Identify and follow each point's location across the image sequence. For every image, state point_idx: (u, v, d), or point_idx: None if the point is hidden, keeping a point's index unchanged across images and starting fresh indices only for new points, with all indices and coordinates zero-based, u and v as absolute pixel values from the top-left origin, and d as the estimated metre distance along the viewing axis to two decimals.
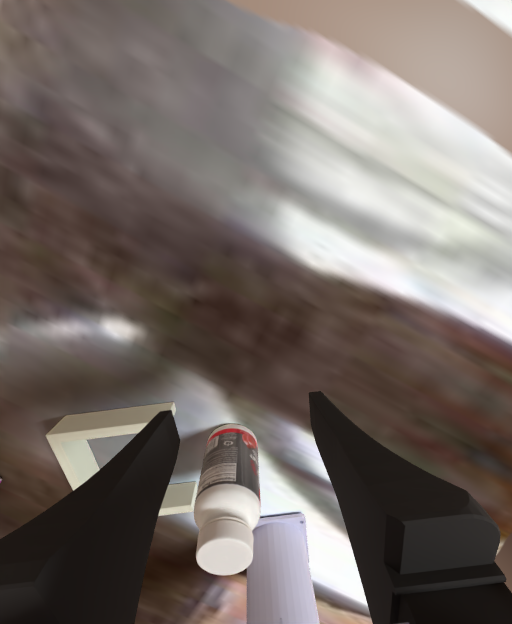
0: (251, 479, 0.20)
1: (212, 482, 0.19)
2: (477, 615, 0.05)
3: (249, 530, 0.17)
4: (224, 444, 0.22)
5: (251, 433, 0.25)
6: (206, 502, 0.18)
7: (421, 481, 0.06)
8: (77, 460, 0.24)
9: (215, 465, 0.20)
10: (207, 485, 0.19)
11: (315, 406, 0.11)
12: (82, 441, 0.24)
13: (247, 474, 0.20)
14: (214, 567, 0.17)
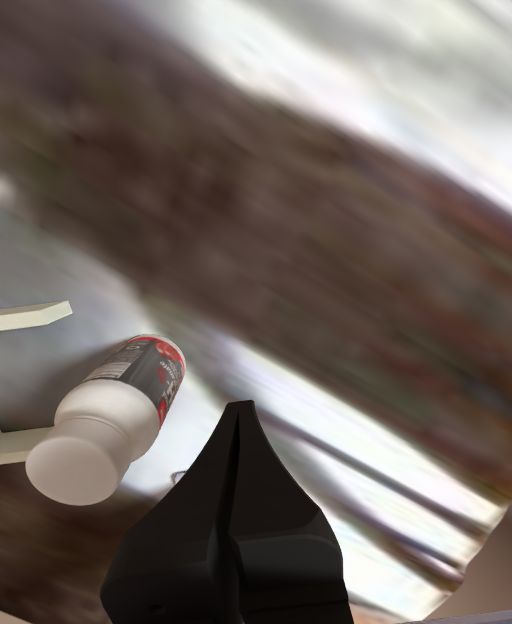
0: (149, 383, 0.14)
1: (85, 380, 0.13)
2: None
3: (120, 436, 0.11)
4: (126, 348, 0.16)
5: (175, 346, 0.19)
6: (65, 401, 0.12)
7: (286, 497, 0.06)
8: None
9: (101, 366, 0.14)
10: (78, 384, 0.13)
11: (239, 415, 0.11)
12: None
13: (144, 376, 0.14)
14: (59, 490, 0.11)
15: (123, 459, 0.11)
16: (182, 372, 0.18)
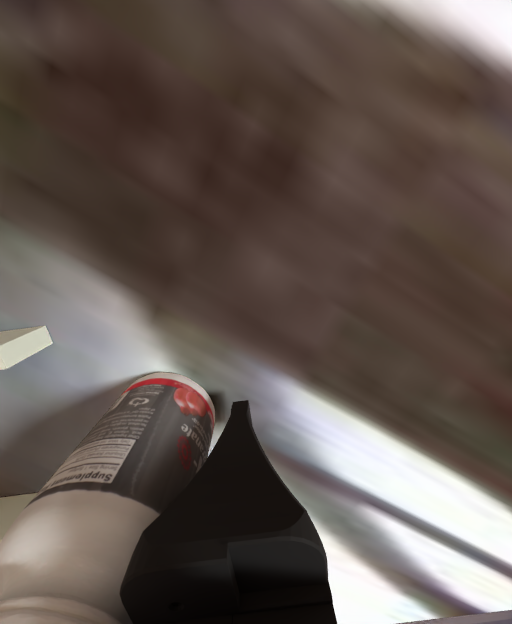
0: (166, 479, 0.08)
1: (52, 485, 0.07)
2: None
3: None
4: (129, 403, 0.10)
5: (200, 390, 0.13)
6: (9, 541, 0.06)
7: (273, 499, 0.06)
8: None
9: (85, 446, 0.09)
10: (40, 493, 0.07)
11: None
12: None
13: (158, 467, 0.08)
14: None
15: None
16: (212, 429, 0.12)
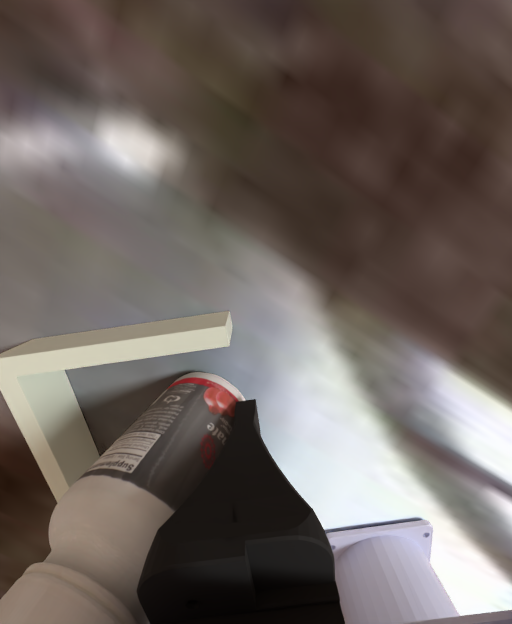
0: (184, 476, 0.08)
1: (90, 469, 0.08)
2: None
3: None
4: (164, 400, 0.11)
5: (233, 390, 0.13)
6: (55, 512, 0.07)
7: (279, 498, 0.06)
8: (52, 419, 0.13)
9: (122, 436, 0.10)
10: None
11: (235, 416, 0.11)
12: (63, 388, 0.14)
13: (176, 463, 0.08)
14: None
15: None
16: None
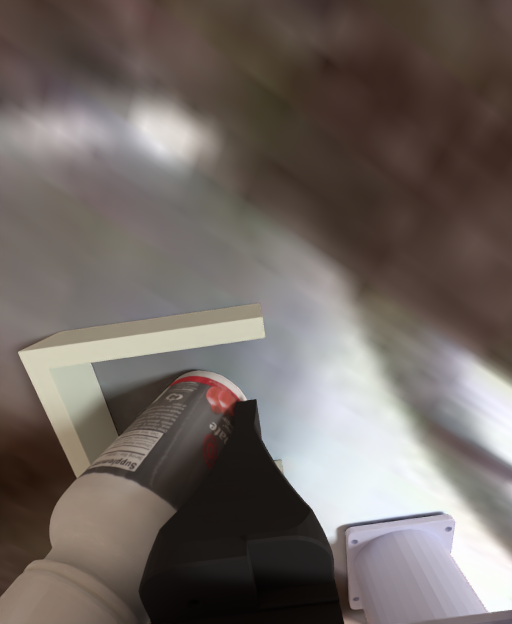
0: (186, 475, 0.08)
1: (92, 466, 0.08)
2: None
3: None
4: (166, 398, 0.11)
5: (235, 390, 0.13)
6: (56, 509, 0.07)
7: (278, 498, 0.06)
8: (81, 412, 0.12)
9: (124, 434, 0.10)
10: (84, 471, 0.08)
11: None
12: (90, 381, 0.13)
13: (179, 462, 0.08)
14: None
15: None
16: None
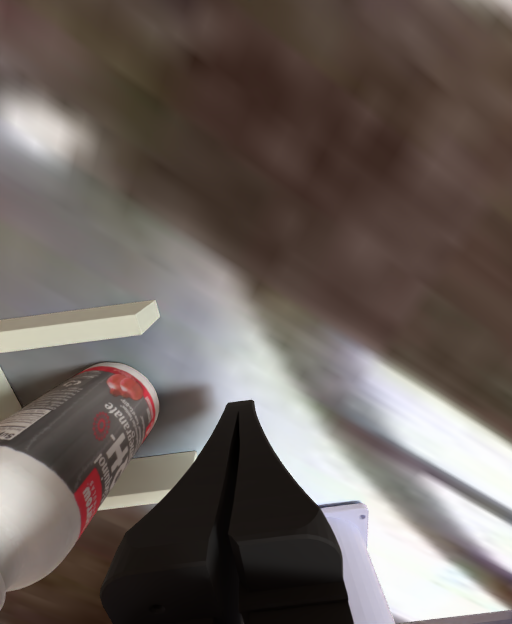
0: (69, 443, 0.09)
1: None
2: None
3: None
4: (63, 385, 0.12)
5: (141, 378, 0.14)
6: None
7: (287, 497, 0.06)
8: None
9: None
10: None
11: (239, 416, 0.11)
12: None
13: (63, 433, 0.09)
14: None
15: None
16: (149, 414, 0.13)
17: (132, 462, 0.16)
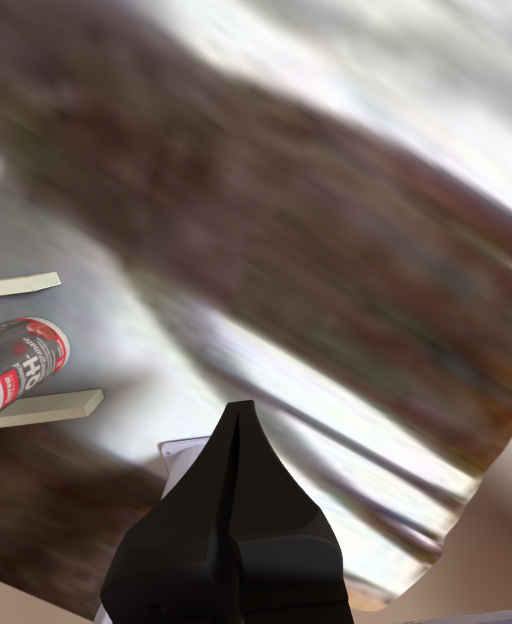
0: None
1: None
2: None
3: None
4: None
5: (55, 328, 0.20)
6: None
7: (286, 497, 0.06)
8: None
9: None
10: None
11: (239, 416, 0.11)
12: None
13: None
14: None
15: None
16: (60, 351, 0.20)
17: (53, 396, 0.22)
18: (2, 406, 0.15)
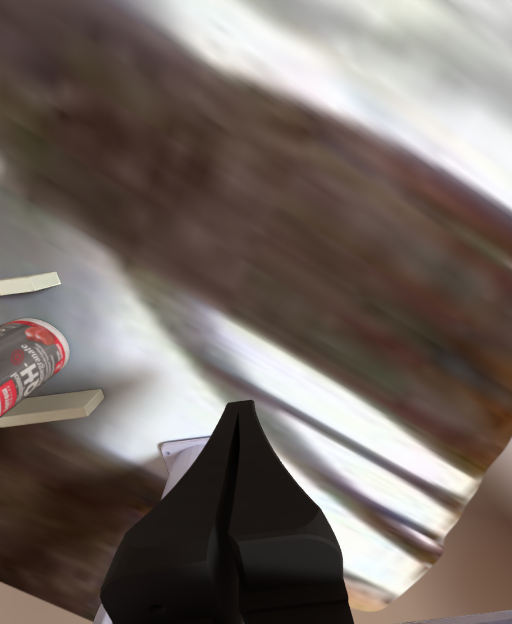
0: None
1: None
2: None
3: None
4: None
5: (54, 331, 0.20)
6: None
7: (286, 497, 0.06)
8: None
9: None
10: None
11: (239, 416, 0.11)
12: None
13: None
14: None
15: None
16: (59, 355, 0.20)
17: (53, 396, 0.22)
18: (0, 415, 0.15)
